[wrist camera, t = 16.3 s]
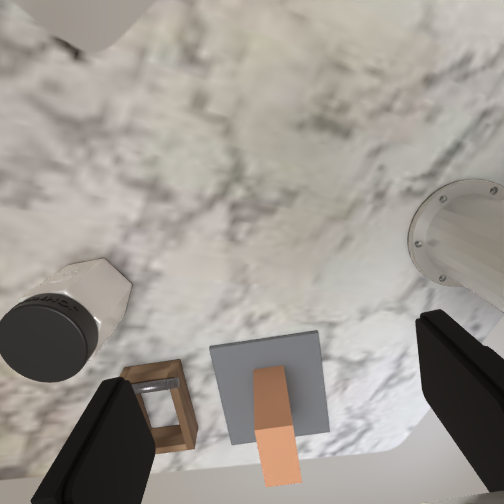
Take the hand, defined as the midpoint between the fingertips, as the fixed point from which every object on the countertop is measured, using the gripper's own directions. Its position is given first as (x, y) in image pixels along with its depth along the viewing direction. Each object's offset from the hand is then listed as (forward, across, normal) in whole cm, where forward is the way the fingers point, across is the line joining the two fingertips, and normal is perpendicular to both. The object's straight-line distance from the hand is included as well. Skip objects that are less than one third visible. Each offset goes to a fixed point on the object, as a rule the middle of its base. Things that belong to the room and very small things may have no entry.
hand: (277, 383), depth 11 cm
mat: (+30, +3, +25) cm, 39 cm away
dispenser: (+30, +18, +23) cm, 42 cm away
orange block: (+29, +3, +25) cm, 38 cm away
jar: (+30, +21, +5) cm, 37 cm away
